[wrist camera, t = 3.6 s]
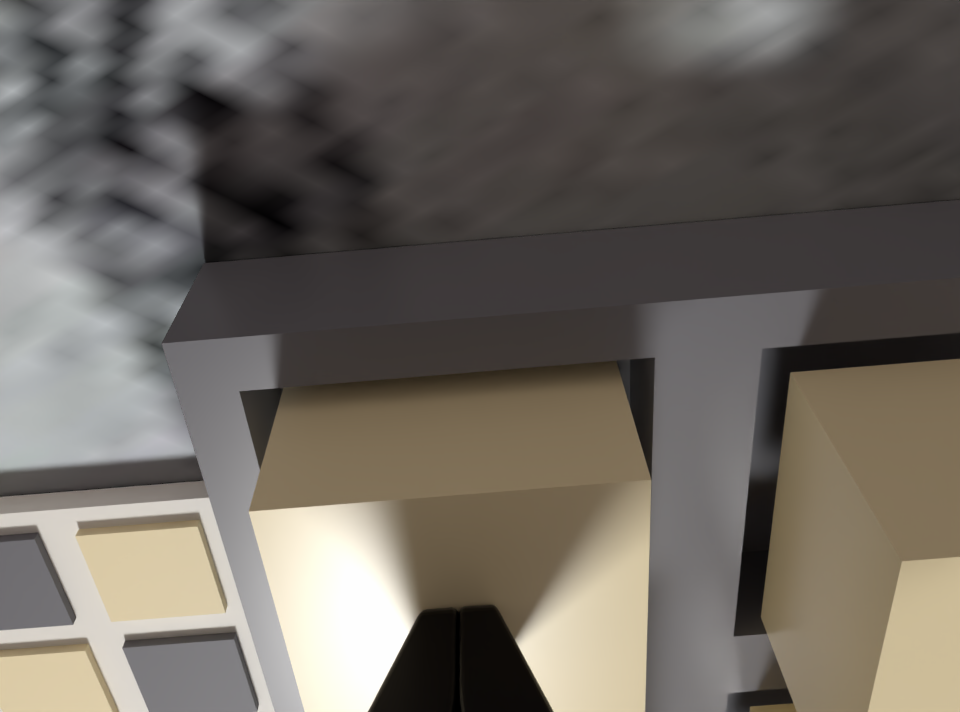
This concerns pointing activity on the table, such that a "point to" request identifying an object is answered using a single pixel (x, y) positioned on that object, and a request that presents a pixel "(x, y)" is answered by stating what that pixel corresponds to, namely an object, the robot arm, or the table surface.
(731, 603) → the button board
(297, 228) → the table surface
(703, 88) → the table surface
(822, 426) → the button
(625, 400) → the button
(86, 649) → the card
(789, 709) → the button
